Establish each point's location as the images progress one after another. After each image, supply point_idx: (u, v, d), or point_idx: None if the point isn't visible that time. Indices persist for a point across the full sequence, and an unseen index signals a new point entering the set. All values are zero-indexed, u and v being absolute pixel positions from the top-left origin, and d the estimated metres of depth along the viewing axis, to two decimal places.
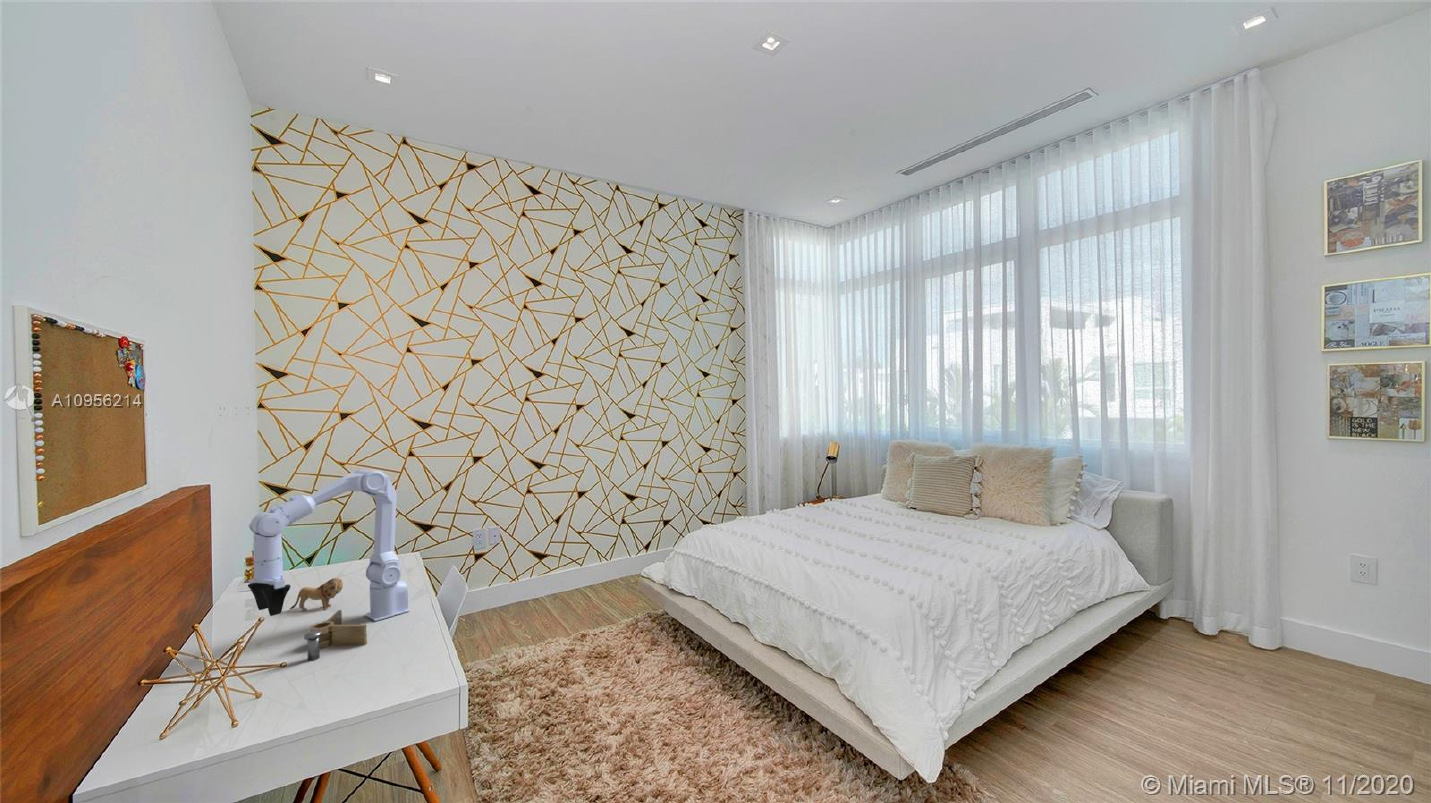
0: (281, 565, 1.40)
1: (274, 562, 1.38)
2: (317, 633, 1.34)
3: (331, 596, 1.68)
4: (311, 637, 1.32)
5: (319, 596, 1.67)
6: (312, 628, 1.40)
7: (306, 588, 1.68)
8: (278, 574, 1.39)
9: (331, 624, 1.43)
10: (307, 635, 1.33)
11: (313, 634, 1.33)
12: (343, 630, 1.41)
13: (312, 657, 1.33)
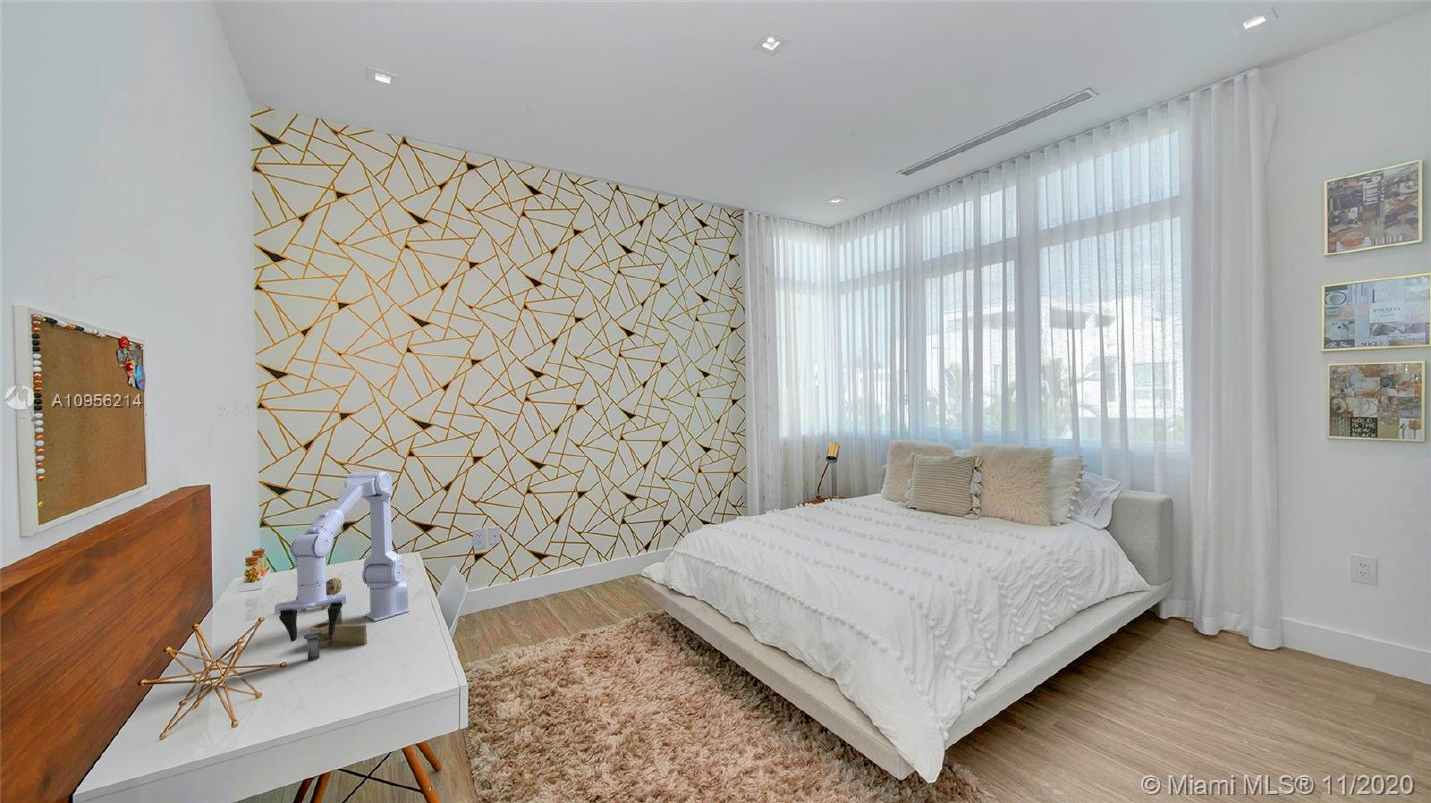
0: None
1: (325, 582, 1.35)
2: (317, 633, 1.34)
3: None
4: (311, 637, 1.32)
5: None
6: (312, 628, 1.40)
7: None
8: (325, 594, 1.36)
9: None
10: (307, 635, 1.33)
11: (313, 634, 1.33)
12: (343, 630, 1.41)
13: (312, 657, 1.33)
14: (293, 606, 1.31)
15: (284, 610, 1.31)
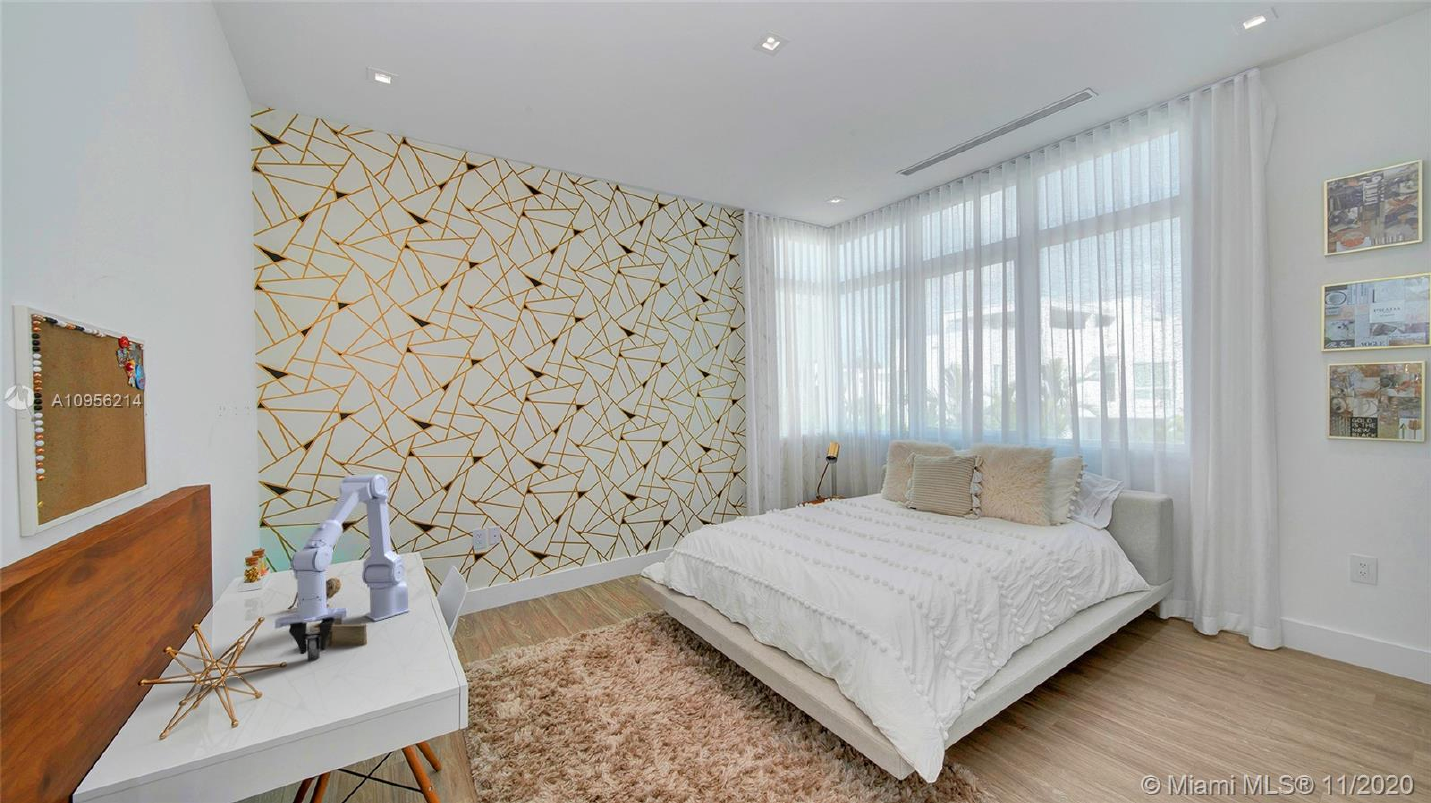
0: None
1: None
2: (317, 633, 1.34)
3: (329, 596, 1.68)
4: (311, 637, 1.32)
5: None
6: (312, 628, 1.40)
7: None
8: None
9: None
10: (307, 635, 1.33)
11: (313, 634, 1.33)
12: (343, 630, 1.41)
13: (312, 657, 1.33)
14: (293, 621, 1.31)
15: (284, 624, 1.31)
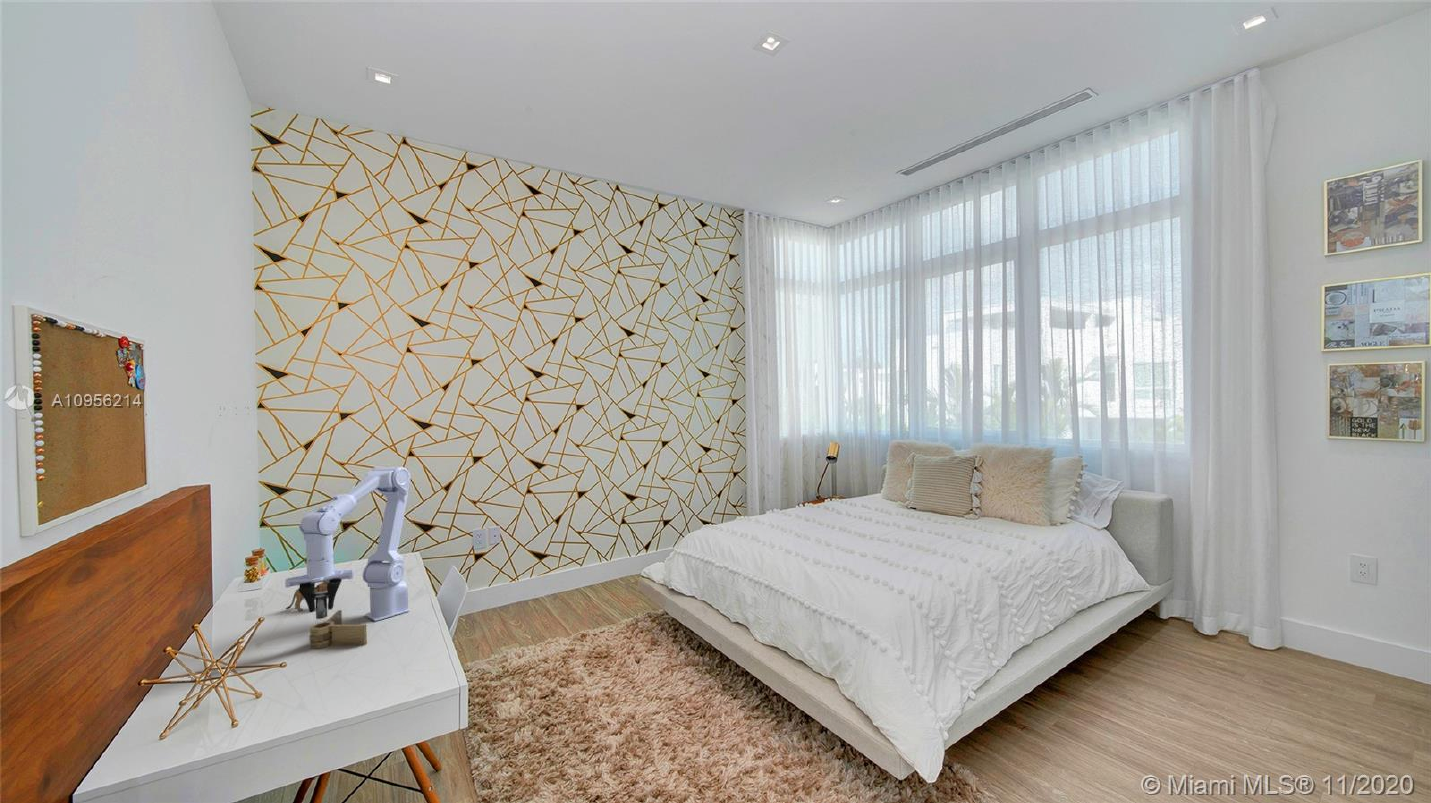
0: None
1: None
2: (325, 593, 1.41)
3: (327, 596, 1.68)
4: (319, 596, 1.40)
5: None
6: (312, 628, 1.40)
7: None
8: None
9: (331, 624, 1.43)
10: (315, 594, 1.40)
11: (321, 593, 1.41)
12: (343, 630, 1.41)
13: (320, 615, 1.40)
14: (303, 580, 1.38)
15: (294, 584, 1.39)
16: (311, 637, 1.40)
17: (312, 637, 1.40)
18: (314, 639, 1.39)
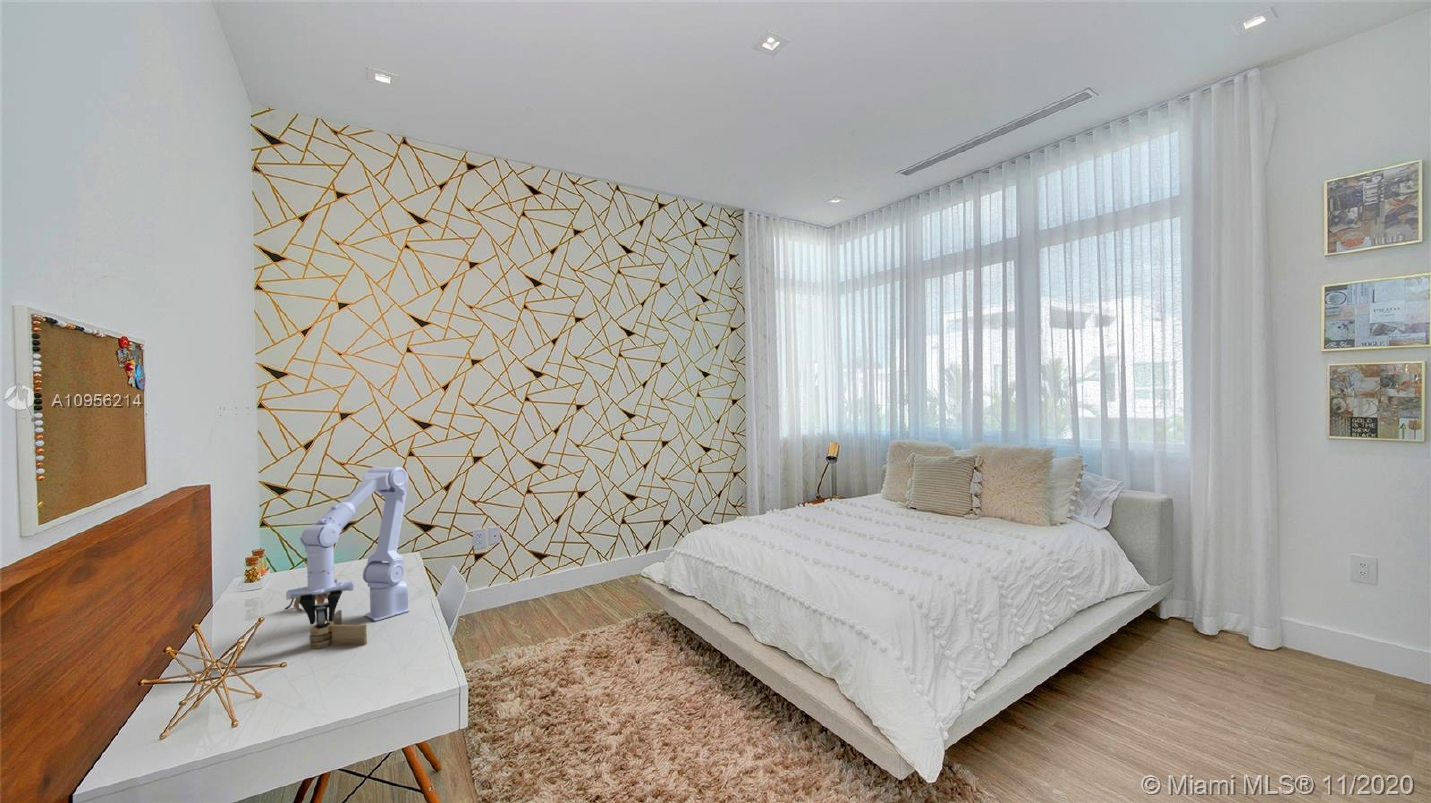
0: None
1: (333, 570, 1.44)
2: (325, 605, 1.42)
3: (326, 596, 1.68)
4: (320, 608, 1.41)
5: None
6: (312, 628, 1.40)
7: None
8: None
9: (331, 624, 1.43)
10: (316, 606, 1.41)
11: (322, 605, 1.41)
12: (343, 630, 1.41)
13: (321, 627, 1.41)
14: (303, 592, 1.39)
15: (295, 596, 1.39)
16: (311, 637, 1.40)
17: (312, 637, 1.40)
18: (314, 639, 1.39)
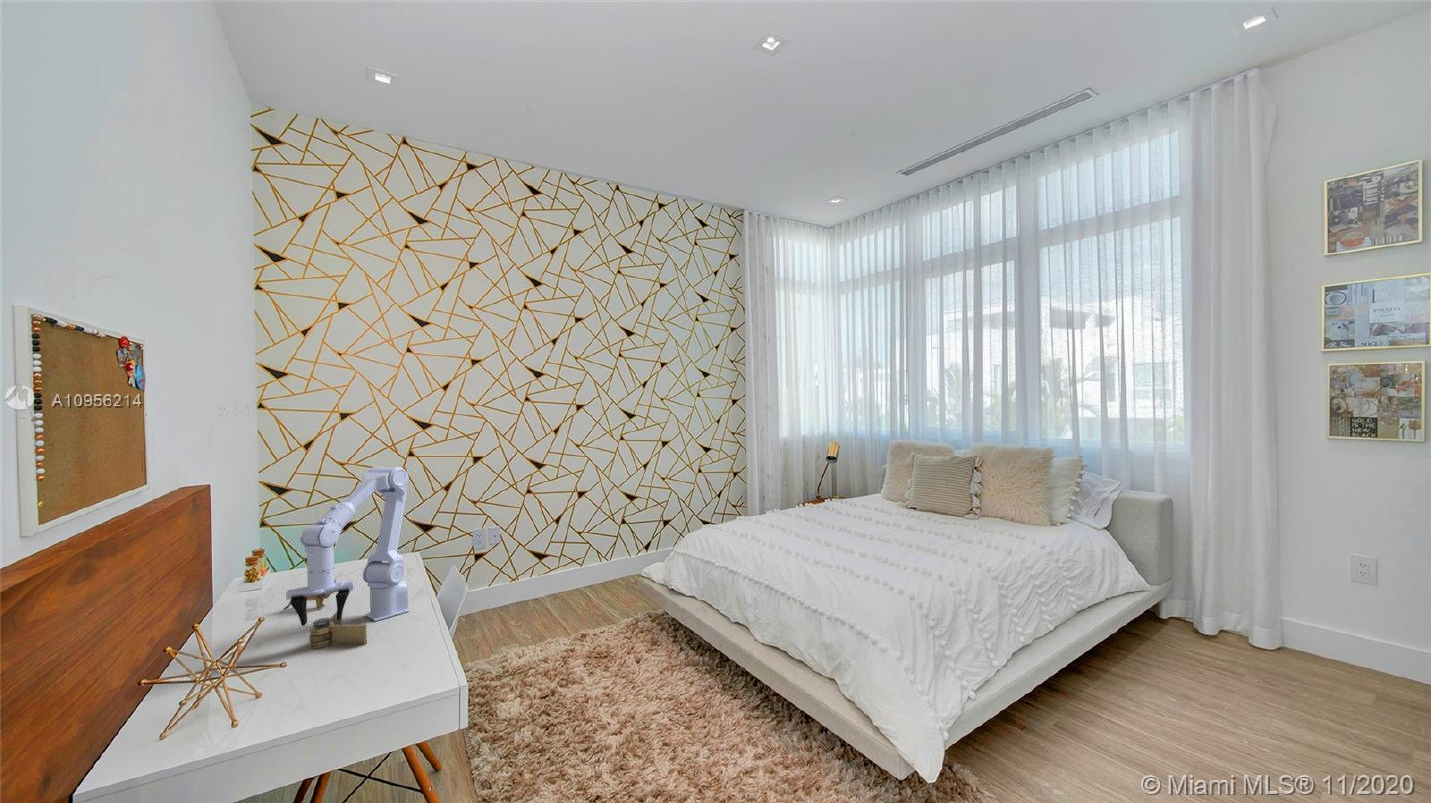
0: None
1: (333, 570, 1.44)
2: (325, 620, 1.42)
3: (325, 596, 1.68)
4: (320, 624, 1.40)
5: (313, 596, 1.67)
6: (312, 628, 1.40)
7: None
8: None
9: (331, 624, 1.43)
10: (316, 622, 1.41)
11: (321, 621, 1.41)
12: (343, 630, 1.41)
13: None
14: (303, 592, 1.39)
15: (295, 596, 1.39)
16: (311, 637, 1.40)
17: (312, 637, 1.40)
18: (314, 639, 1.39)
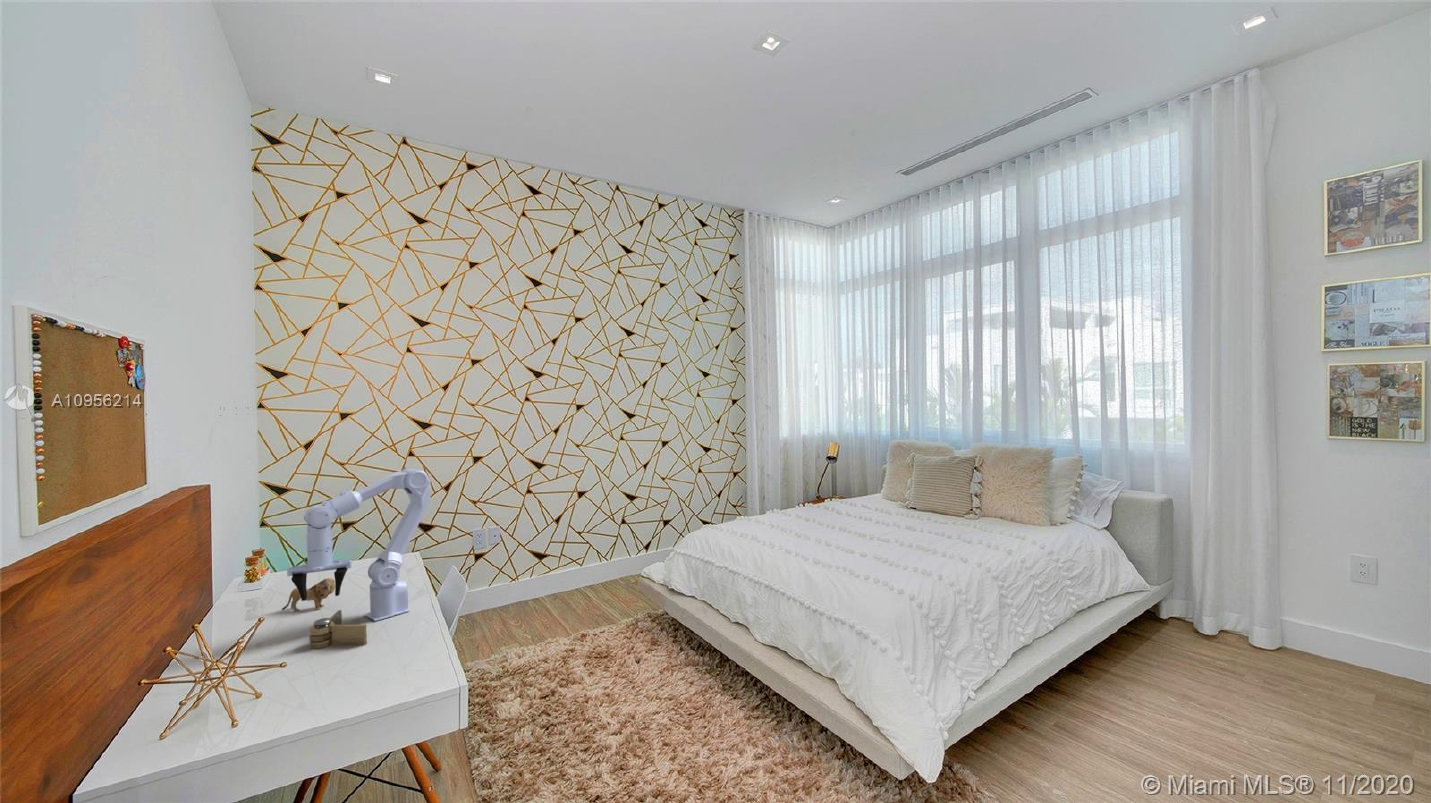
0: None
1: None
2: (326, 620, 1.42)
3: (324, 596, 1.68)
4: (321, 624, 1.40)
5: (311, 596, 1.67)
6: (312, 628, 1.40)
7: None
8: None
9: (331, 624, 1.43)
10: (317, 622, 1.41)
11: (322, 621, 1.41)
12: (343, 630, 1.41)
13: None
14: (303, 569, 1.48)
15: (295, 573, 1.48)
16: (311, 637, 1.40)
17: (312, 637, 1.40)
18: (314, 639, 1.39)
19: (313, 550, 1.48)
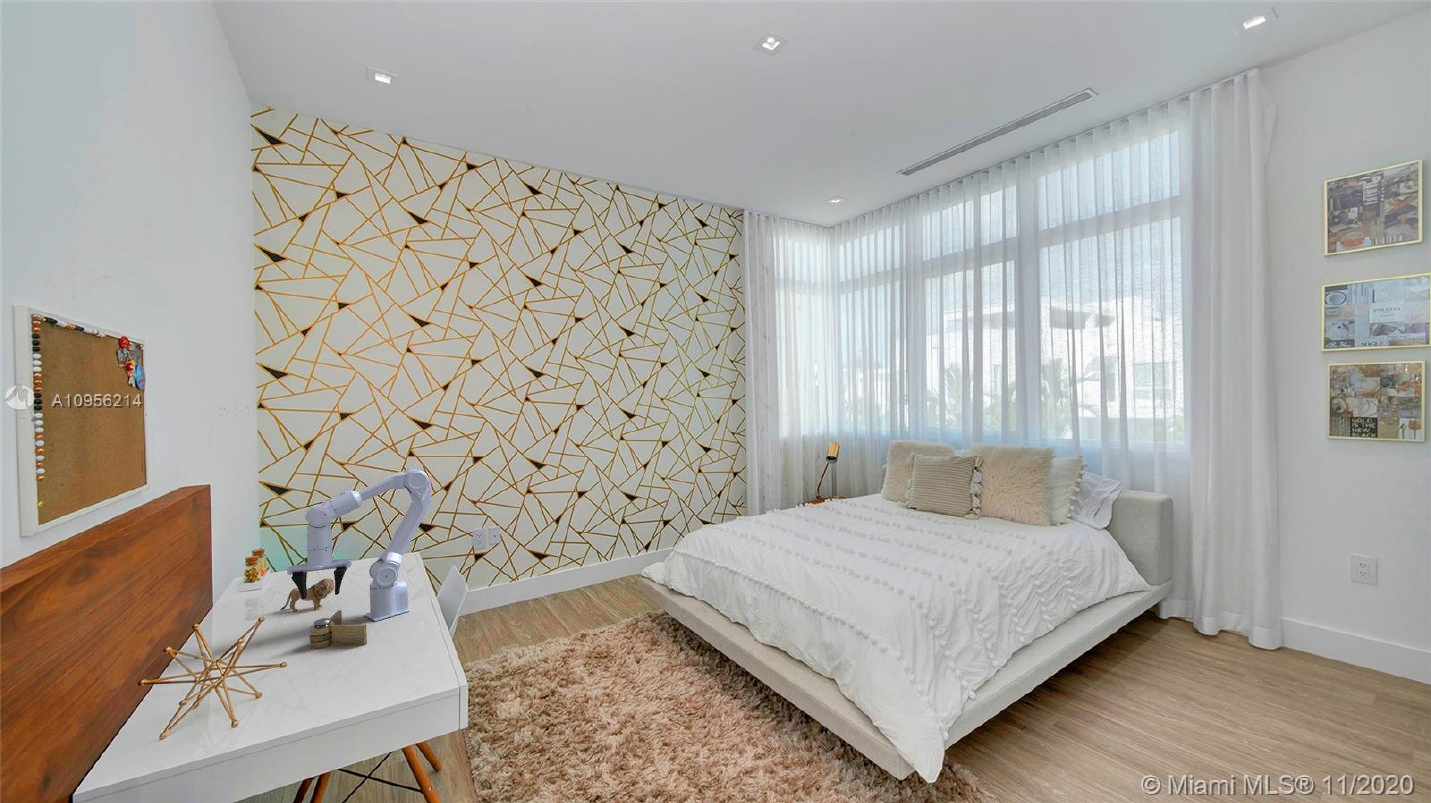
0: None
1: None
2: (326, 620, 1.42)
3: (323, 596, 1.68)
4: (320, 624, 1.40)
5: (310, 596, 1.67)
6: (312, 628, 1.40)
7: (297, 589, 1.67)
8: None
9: (331, 624, 1.43)
10: (317, 622, 1.41)
11: (322, 621, 1.41)
12: (343, 630, 1.41)
13: None
14: (303, 568, 1.49)
15: (295, 572, 1.49)
16: (311, 637, 1.40)
17: (312, 637, 1.40)
18: (314, 639, 1.39)
19: (312, 549, 1.49)
